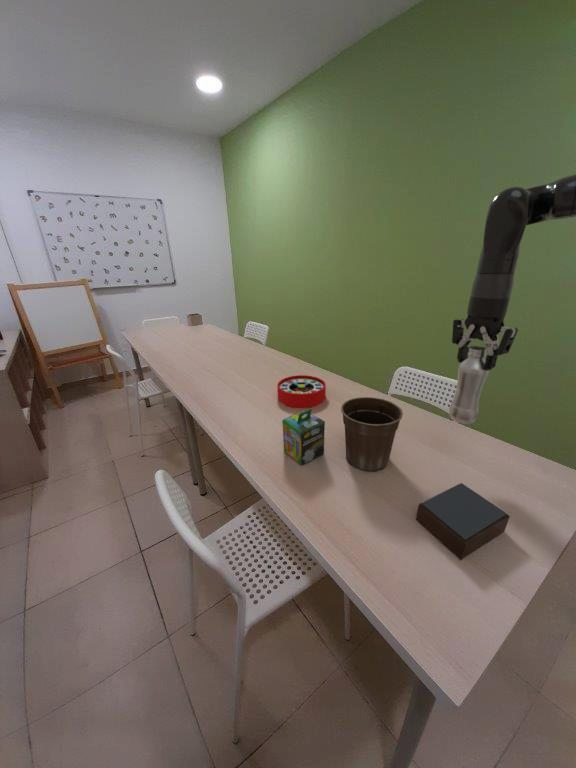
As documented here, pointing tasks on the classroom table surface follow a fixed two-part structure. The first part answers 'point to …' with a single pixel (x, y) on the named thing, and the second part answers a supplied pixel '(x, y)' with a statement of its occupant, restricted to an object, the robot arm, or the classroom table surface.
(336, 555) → the classroom table surface
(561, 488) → the classroom table surface
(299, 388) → the toy clock
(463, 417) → the plastic bottle
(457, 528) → the step block
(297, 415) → the chalk box
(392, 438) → the plant pot
